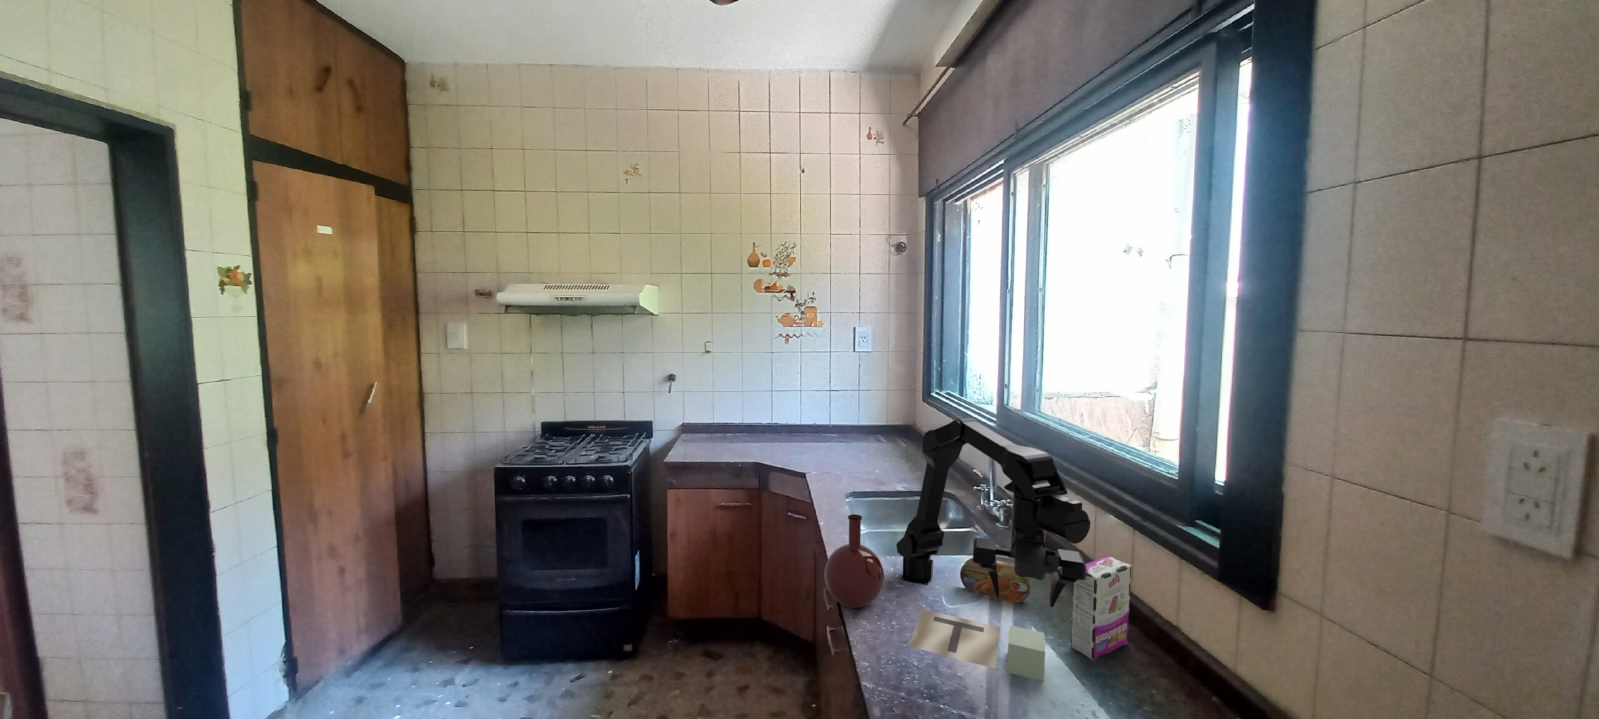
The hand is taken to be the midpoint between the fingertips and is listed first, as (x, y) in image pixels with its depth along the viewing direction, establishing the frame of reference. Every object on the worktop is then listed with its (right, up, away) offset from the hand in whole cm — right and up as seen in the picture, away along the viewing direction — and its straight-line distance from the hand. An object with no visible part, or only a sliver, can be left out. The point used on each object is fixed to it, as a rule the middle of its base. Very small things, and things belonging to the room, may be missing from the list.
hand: (1024, 601), depth 98 cm
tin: (+3, -10, +24) cm, 26 cm away
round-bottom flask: (-30, -10, +20) cm, 37 cm away
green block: (0, -12, -1) cm, 12 cm away
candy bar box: (+17, -12, +6) cm, 21 cm away
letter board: (-10, -11, +8) cm, 17 cm away
